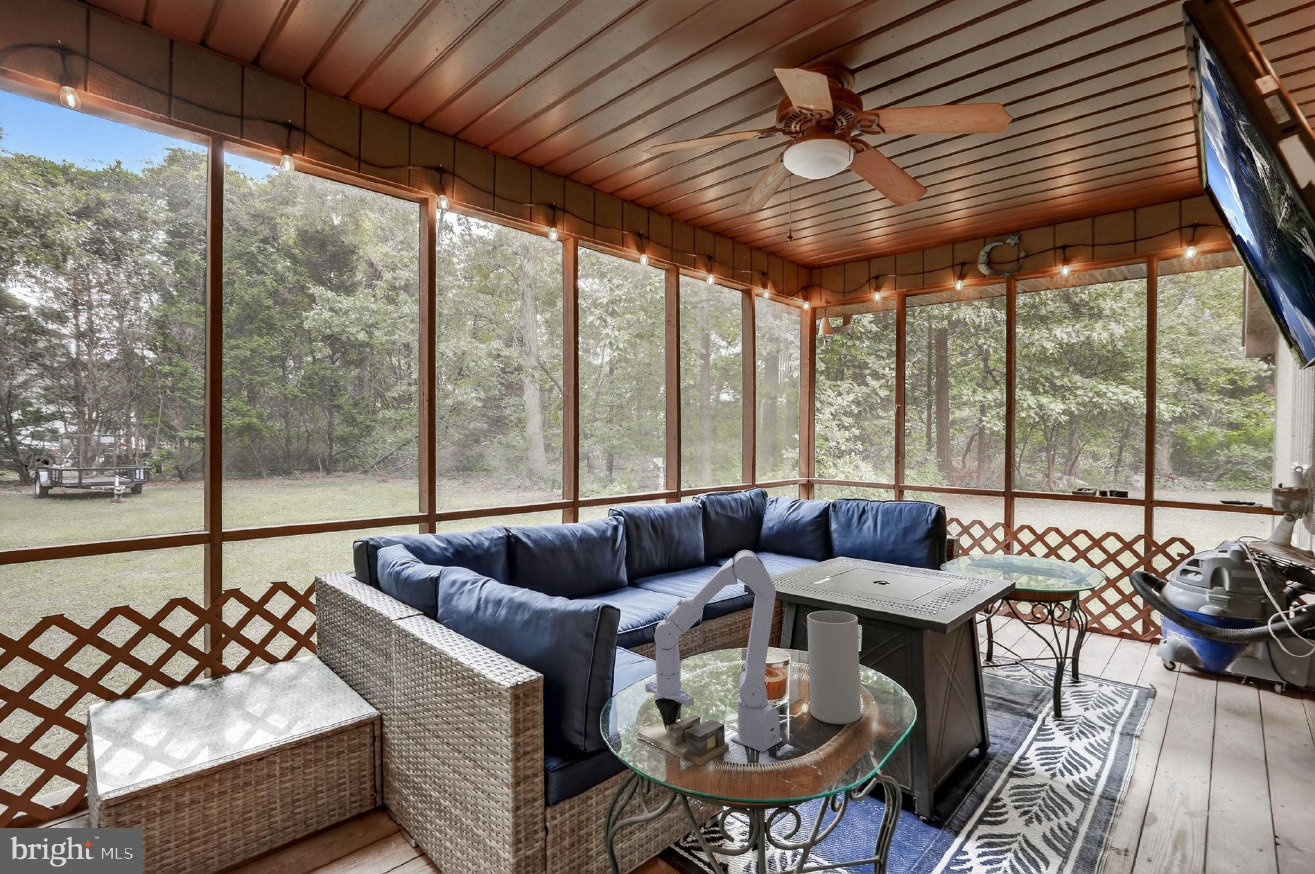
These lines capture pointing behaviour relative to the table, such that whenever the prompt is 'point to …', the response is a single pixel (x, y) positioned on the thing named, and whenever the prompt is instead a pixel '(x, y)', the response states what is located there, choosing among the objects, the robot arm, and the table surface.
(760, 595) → the robot arm
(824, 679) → the cylinder vase
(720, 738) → the latch board
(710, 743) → the yellow sliding bolt
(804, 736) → the table surface
